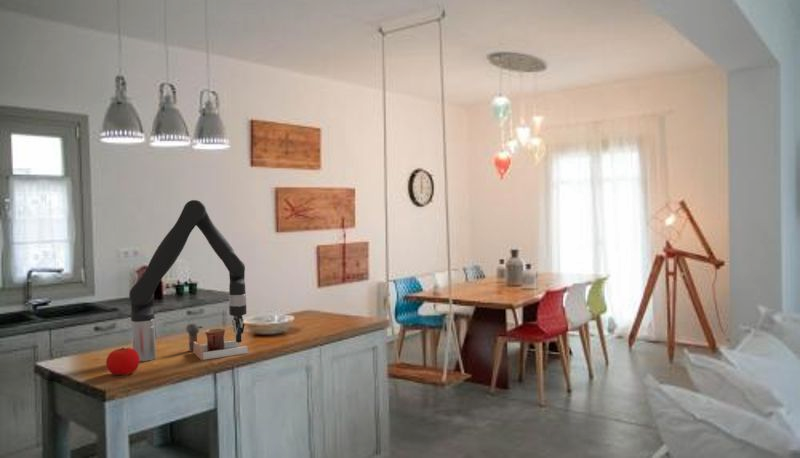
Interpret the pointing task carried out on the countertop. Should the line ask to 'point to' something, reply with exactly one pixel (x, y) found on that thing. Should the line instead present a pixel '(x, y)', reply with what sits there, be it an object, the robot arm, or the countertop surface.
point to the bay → (203, 355)
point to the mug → (215, 339)
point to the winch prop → (192, 334)
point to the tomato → (122, 361)
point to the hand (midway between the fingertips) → (238, 342)
